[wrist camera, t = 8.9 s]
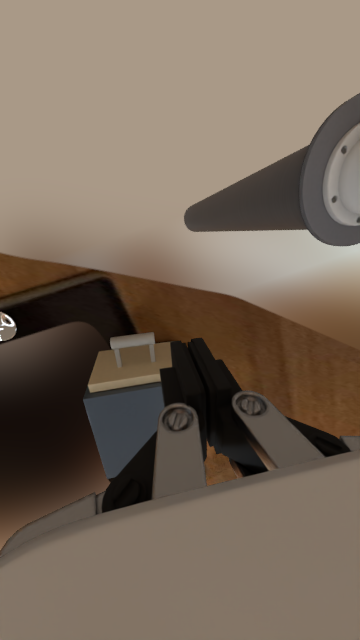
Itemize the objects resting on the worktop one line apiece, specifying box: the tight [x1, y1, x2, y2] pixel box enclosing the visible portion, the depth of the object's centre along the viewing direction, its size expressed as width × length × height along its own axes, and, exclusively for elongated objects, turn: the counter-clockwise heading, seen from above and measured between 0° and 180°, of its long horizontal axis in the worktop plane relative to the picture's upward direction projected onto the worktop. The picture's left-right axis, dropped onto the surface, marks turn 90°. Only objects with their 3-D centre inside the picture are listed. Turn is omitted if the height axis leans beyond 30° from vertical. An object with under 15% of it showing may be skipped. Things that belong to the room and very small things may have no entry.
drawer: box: [88, 332, 174, 393], centre depth 31 cm, size 18×11×8 cm, turn 3°
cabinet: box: [83, 382, 164, 479], centre depth 32 cm, size 15×13×10 cm
